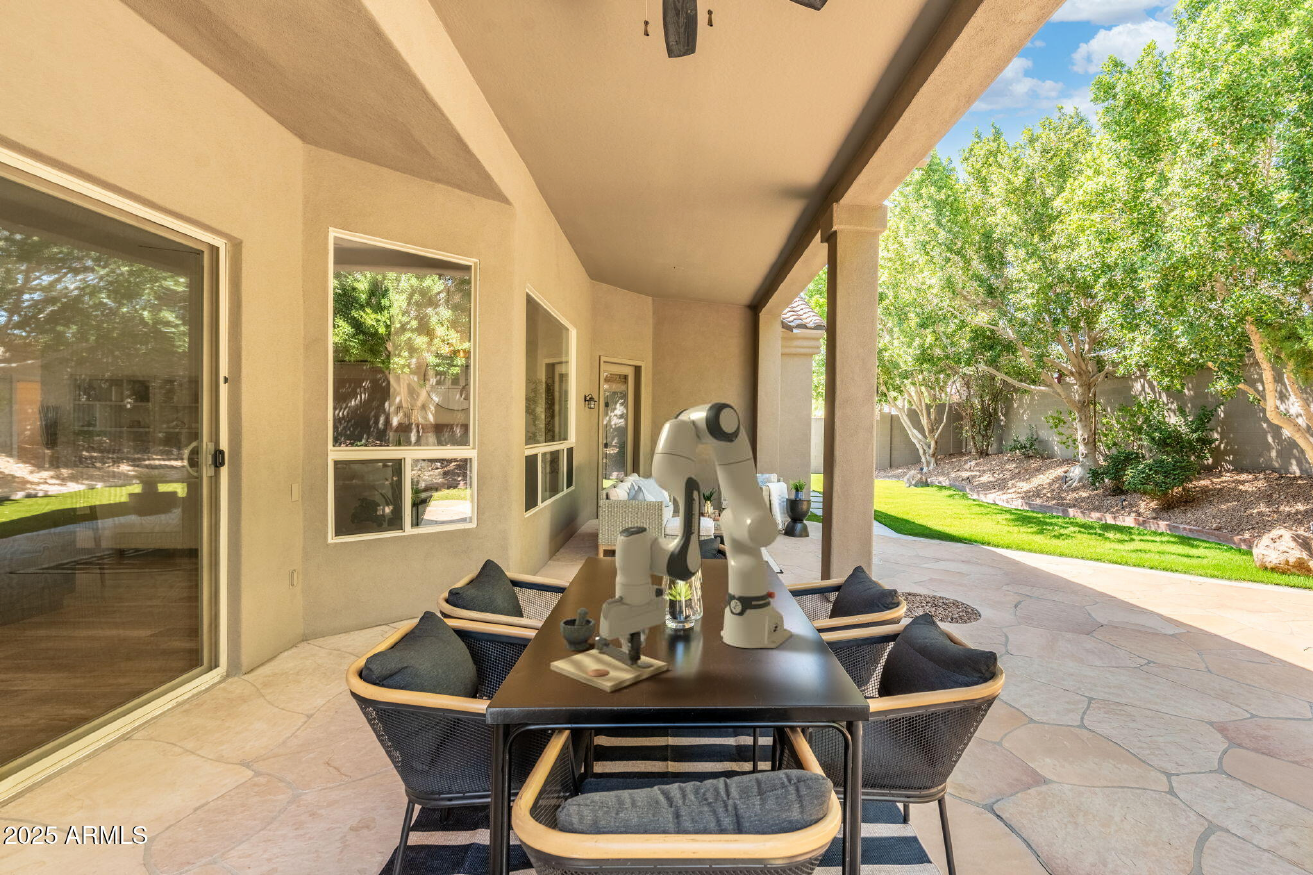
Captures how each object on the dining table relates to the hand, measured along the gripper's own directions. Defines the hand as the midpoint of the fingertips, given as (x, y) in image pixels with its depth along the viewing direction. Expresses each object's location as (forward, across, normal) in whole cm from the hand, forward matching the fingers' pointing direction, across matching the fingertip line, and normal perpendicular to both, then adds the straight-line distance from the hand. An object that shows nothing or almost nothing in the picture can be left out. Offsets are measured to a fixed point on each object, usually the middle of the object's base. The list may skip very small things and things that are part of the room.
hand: (633, 648), depth 158 cm
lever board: (+7, -2, +8) cm, 10 cm away
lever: (+4, +2, +8) cm, 9 cm away
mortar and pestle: (+7, +4, +27) cm, 28 cm away
